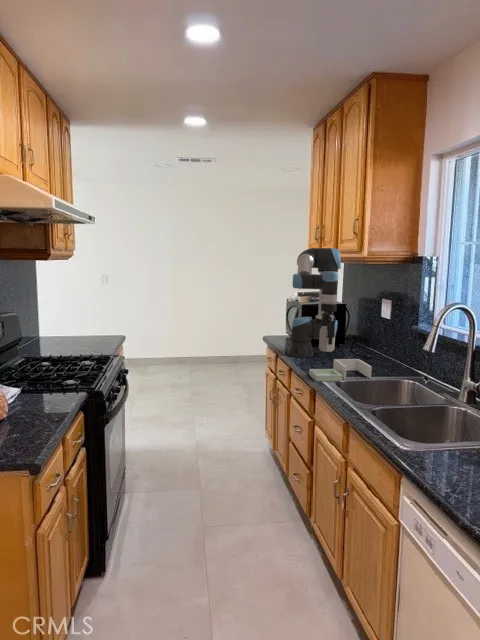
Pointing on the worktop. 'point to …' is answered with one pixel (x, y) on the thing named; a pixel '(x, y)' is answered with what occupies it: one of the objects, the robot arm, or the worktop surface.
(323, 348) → the can
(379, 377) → the worktop surface
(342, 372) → the bay
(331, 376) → the tray
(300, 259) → the robot arm
